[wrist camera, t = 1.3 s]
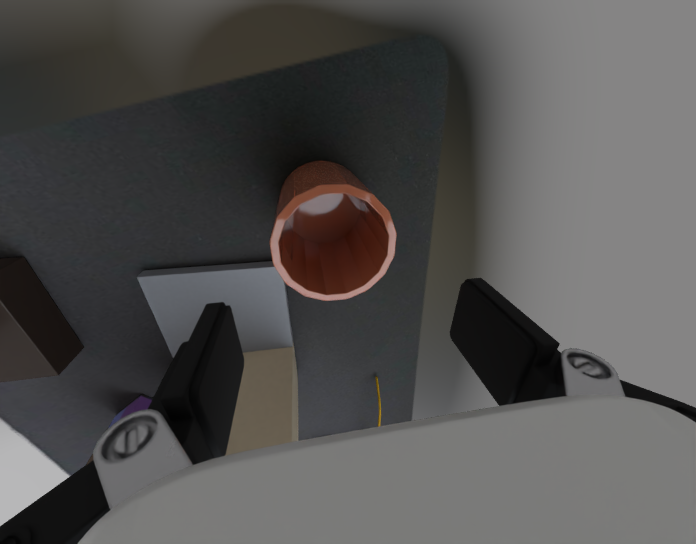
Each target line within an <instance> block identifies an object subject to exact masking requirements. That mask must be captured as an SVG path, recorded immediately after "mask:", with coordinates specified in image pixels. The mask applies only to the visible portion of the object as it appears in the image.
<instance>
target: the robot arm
mask: <svg viewBox="0 0 696 544" xmlns="http://www.w3.org/2000/svg"><path fill="white" fill-rule="evenodd" d="M450 336H451V339H452V341H453V342H454V344H455V345H456V346H457V348H458V349H459V351H460V352H461V353H462V355H463V356H464V357H465V359H466V360H467V361H468V363H469V364H470V366H471V367H472V369H473V370H474V371H475V373H476V374H477V375H478V377H479V378H480V380H481V381H482V383H483V384H484V385H485V387H486V388H487V389H488V391H489V392H490V394H491V395H492V396H493V398H494V399H495V401H496V402H497V403H498V405H499V406H497V407H491V408H485V409H479V410H473V411H467V412H461V413H455V414H449V415H443V416H437V417H431V418H426V419H420V420H414V421H408V422H402V423H397V424H391V425H385V426H379V427H373V428H368V429H362V430H356V431H351V432H345V433H340V434H334V435H328V436H323V437H317V438H311V439H306V440H300V441H294V442H289V443H284V444H279V445H274V446H269V447H264V448H259V449H253V450H248V451H243V452H239V453H234V454H230V455H226V456H225V454H226V451H227V446H228V441H229V437H230V432H231V427H232V422H233V417H234V412H235V408H236V403H237V398H238V393H239V388H240V384H241V379H242V374H243V369H244V356H243V352H242V348H241V344H240V340H239V336H238V332H237V329H236V325H235V321H234V317H233V313H232V309H231V307H230V305H227V306H226V305H225V303H224V302H218V303H208V304H206V305H205V308H204V310H203V312H202V314H201V316H200V318H199V320H198V322H197V324H196V326H195V328H194V330H193V332H192V334H191V336H190V338H189V340H188V341H187V342H183V343H182V344H181V345H180V347H179V349H178V351H177V353H176V354H175V356H174V358H173V360H172V362H171V364H170V366H169V368H168V370H167V372H166V374H165V376H164V378H163V380H162V382H161V384H160V386H159V388H158V390H157V392H156V394H155V395H154V397H153V399H152V401H151V403H150V405H149V407H148V409H146V410H140V411H136V412H133V413H131V414H129V415H127V416H125V417H123V418H121V419H120V420H118V421H117V422H116V423H114V424H113V425H112V426H111V427H110V428H108V429H107V430H106V431H105V432H104V433H103V435H102V436H101V438H100V439H99V440H98V442H97V443H96V446H95V449H94V451H93V461H91V462H90V463H88V464H87V465H86V466H84V467H83V468H81V469H80V470H79V471H77V472H76V473H74V474H73V475H72V476H70V477H69V478H67V479H66V480H65V481H63V482H62V483H60V484H59V485H58V486H56V487H55V488H54V489H52V490H51V491H49V492H48V493H46V494H45V495H44V496H42V497H41V498H39V499H38V500H37V501H35V502H34V503H32V504H31V505H30V506H28V507H27V508H25V509H24V510H23V511H21V512H20V513H18V514H17V515H16V516H14V517H13V518H11V519H10V520H9V521H7V522H6V523H4V524H3V525H2V526H0V544H696V408H695V407H692V406H690V405H687V404H685V403H682V402H680V401H677V400H674V399H672V398H669V397H666V396H663V395H661V394H658V393H655V392H652V391H650V390H646V389H644V388H641V387H638V386H636V385H633V384H630V383H627V382H625V381H622V380H619V377H618V374H617V372H616V371H615V369H614V368H613V367H612V366H611V365H610V364H609V363H608V362H606V361H605V360H604V359H602V358H601V357H599V356H597V355H595V354H593V353H590V352H588V351H584V350H580V349H572V348H570V349H566V350H564V351H563V352H562V353H560V352H559V351H558V350H557V348H558V346H559V343H558V342H557V341H556V340H555V339H553V338H552V337H551V336H550V335H549V334H548V333H546V332H545V331H544V330H543V329H542V328H540V327H539V326H538V325H537V324H536V323H535V322H533V321H532V320H531V319H530V318H529V317H527V316H526V315H525V314H524V313H523V312H521V311H520V310H519V309H517V307H515V306H514V305H513V304H512V303H510V302H509V301H508V300H507V299H506V298H505V297H503V296H502V295H501V294H500V293H499V292H498V291H496V290H495V289H494V288H493V287H492V286H490V285H489V284H488V283H487V282H486V281H484V280H483V279H482V278H474V279H467V280H465V282H464V283H463V284H462V285H461V287H460V291H459V296H458V300H457V304H456V308H455V313H454V317H453V321H452V325H451V330H450Z"/></svg>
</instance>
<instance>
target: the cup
mask: <svg viewBox="0 0 696 544" xmlns="http://www.w3.org/2000/svg"><path fill="white" fill-rule="evenodd" d="M396 235H397V234H396V230H395V227H394V224H393V221H392V218H391V215H390V212H389V211H388V209H387V208H386V207H385V206H384V205H383V204H382V203H381V202H380V201H379V200H378V199H377V198H376V197H375V196H374V195H373V194H372V193H371V192H370V191H369V190H368V189H367V188H366V187H365V186H364V185H363V184H362V183H361V182H360V181H359V180H358V179H357V178H356V177H355V176H354V175H353V173H352V172H351V171H350V170H349V169H347V168H345V167H343V166H341V165H339V164H337V163H334V162H330V161H313V162H309V163H306V164H303V165H302V166H300V167H298V168H297V169H295V170H294V171H293V172H292V173H291V174H290V175H289V176H288V177H287V179H286V180H285V182H284V183H283V185H282V188H281V191H280V195H279V198H278V202H277V207H276V212H275V217H274V222H273V226H272V231H271V236H270V249H271V255H272V262H273V265H274V267H275V268H276V270H277V271H278V273H279V274H280V276H281V278H282V279H283V281H284V282H285V283H286V284H287V285H288V286H290V287H291V288H293V289H294V290H296V291H297V292H299V293H300V294H302V295H304V296H307V297H311V298H315V299H319V300H323V301H331V300H341V299H347V298H348V299H349V298H351V297H353V296H355V295H358V294H360V293H362V292H365V291H367V290H368V289H370V288H371V287H372V286H373V285H374V284H375V283H376V282H377V281H378V280H380V279H381V278H382V277H383V276H384V275H385V273H386V271H387V269H388V267H389V265H390V263H391V261H392V259H393V258H394V255H395V246H396Z"/></svg>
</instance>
